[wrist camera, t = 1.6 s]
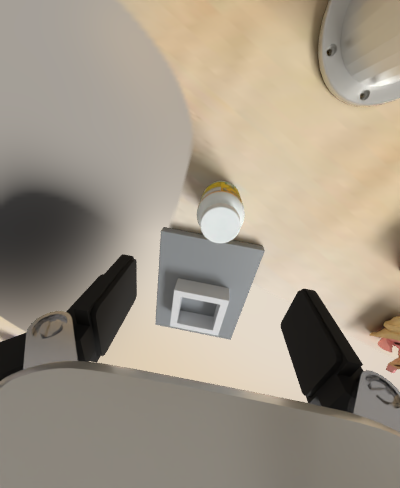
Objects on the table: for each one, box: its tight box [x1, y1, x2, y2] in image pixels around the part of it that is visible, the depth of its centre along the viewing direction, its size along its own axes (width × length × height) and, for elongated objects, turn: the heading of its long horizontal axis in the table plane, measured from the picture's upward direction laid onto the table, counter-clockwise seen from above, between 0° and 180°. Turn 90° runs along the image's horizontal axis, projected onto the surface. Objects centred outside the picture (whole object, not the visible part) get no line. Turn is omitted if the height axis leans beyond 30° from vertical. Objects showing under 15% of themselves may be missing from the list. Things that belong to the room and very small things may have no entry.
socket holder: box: [156, 227, 264, 339], centre depth 33 cm, size 22×16×4 cm
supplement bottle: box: [197, 181, 245, 243], centre depth 23 cm, size 5×5×10 cm
